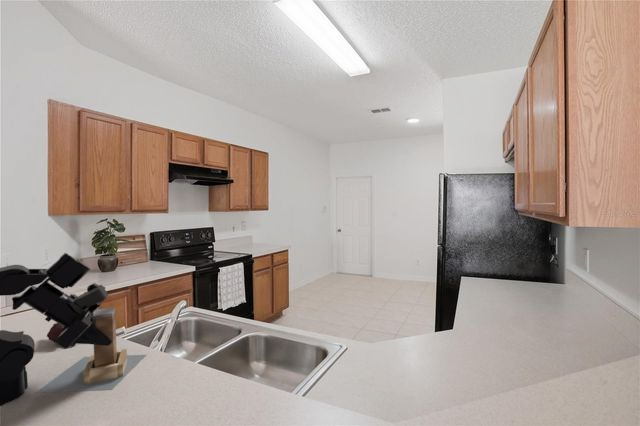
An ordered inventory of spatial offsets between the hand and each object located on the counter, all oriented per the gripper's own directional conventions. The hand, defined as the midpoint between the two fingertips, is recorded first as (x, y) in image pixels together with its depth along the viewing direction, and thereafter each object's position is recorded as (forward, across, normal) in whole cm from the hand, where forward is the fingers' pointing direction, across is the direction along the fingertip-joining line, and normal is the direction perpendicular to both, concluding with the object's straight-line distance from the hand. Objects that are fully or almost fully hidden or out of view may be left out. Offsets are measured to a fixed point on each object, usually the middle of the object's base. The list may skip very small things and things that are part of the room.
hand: (111, 339), depth 79 cm
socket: (+5, 0, +6) cm, 8 cm away
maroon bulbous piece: (-5, +30, +18) cm, 35 cm away
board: (+4, +1, +9) cm, 10 cm away
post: (+4, 0, +6) cm, 7 cm away
